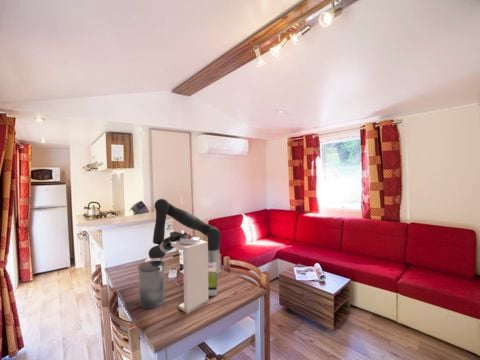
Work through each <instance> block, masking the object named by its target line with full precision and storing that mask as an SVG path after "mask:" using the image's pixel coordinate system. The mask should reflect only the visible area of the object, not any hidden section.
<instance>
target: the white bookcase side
mask: <svg viewBox="0 0 480 360" xmlns="http://www.w3.org/2000/svg"><path fill="white" fill-rule="evenodd" d="M171 246H172V247H174V248H175V249H177V250H181V251H182V252H183V254H182V255H183V260H182V261H183V267H182V268H183V302H182V303H180V304H178V308H179V309H180V310H181V311H183V312H185V313H186V314H190V313H191V312H193V311H196V310H197V309H199V308H201V307H203V306H204V305H207V304H208V303H209V297H210V296H208V241H205V240H203V239H200V243H198V244H195V245H181V244H180V241H175V242H171Z"/></svg>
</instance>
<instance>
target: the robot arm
mask: <svg viewBox="0 0 480 360" xmlns="http://www.w3.org/2000/svg"><path fill="white" fill-rule="evenodd" d="M154 209H155V224H154V229H153V237H152V243H153V244H155V246H152V247H150V249H149V250H148V258H152V259H155V258H161V259H162V258H164V257H165V255H166V254H167V253H168V252H170V251H171V250H173V249H174V248H175V247H172V246H171V242H175V241H179V240H176V239H175V237H174V235H172V236H171V237H170V236H167V237H166V238H165V232H166V222H167V221H166V220H167V216H169V217H171V218H173V219H174V220H175V221H176V222H178V223H179V224H180V225H183V226H184V227H187V228H188V229H191V230H194V231H198V232H199V233H201V234H203V235H205V236H206V237H207V242H208V263H213V262H216V264H217V275H218V274H219V273H221V272H222V270H221V268H222V265H221V264H222V263H221V261H222V260H221V258H220V246H221V231H220V230H219V229H218V228H217V227H216V226H213V225H210V224H208V223H206V222H204V221H202V220H201V219H200V218H199V217H197V216H195V215H194V214H192V213H190V212H188V211H186V210H183V209H181V208H178V207H176V206H175V205H173V204H171V203H170V202H168V200H166V199H164V198H160V199H157V200H156V201H155V202H154ZM183 234H186V235H188V233H187V232H184V233H183Z"/></svg>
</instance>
